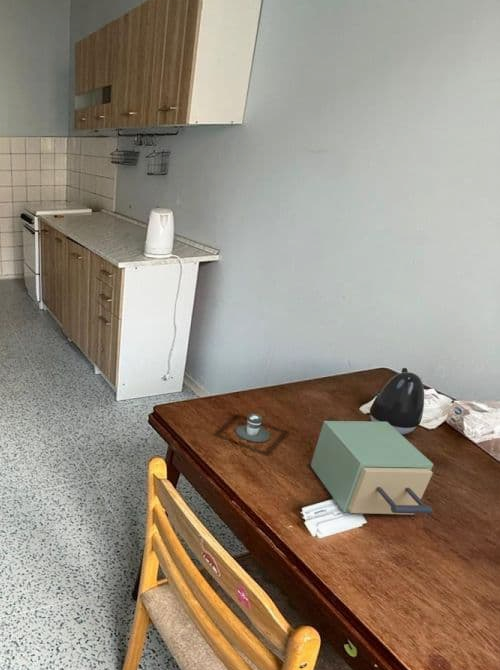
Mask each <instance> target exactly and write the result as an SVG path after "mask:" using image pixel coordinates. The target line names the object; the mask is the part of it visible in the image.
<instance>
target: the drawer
mask: <svg viewBox="0 0 500 670" xmlns="http://www.w3.org/2000/svg"><path fill="white" fill-rule="evenodd" d="M433 474H434V472H433V471H432V470H430V469H424V468H411V467H401V468H371V467H363V468H362V471H361V474H360V477H359V479H358V482H357V485H356V488H355V490H354V493H353V496H352V499H351V502H350V504H349V507H348V510H349V511H350V512H349V513H350V514H371V515H373V514H377V515H411V516H412V515H416V514H417V515H431V514H433V512H434V509H433V507H432V506H431V505H426V503H424V501H423V500H422V499H423V495H424V494H425V492H426V489H427V487H428V485H429V483H430V480H431V478H432V476H433Z"/></svg>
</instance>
